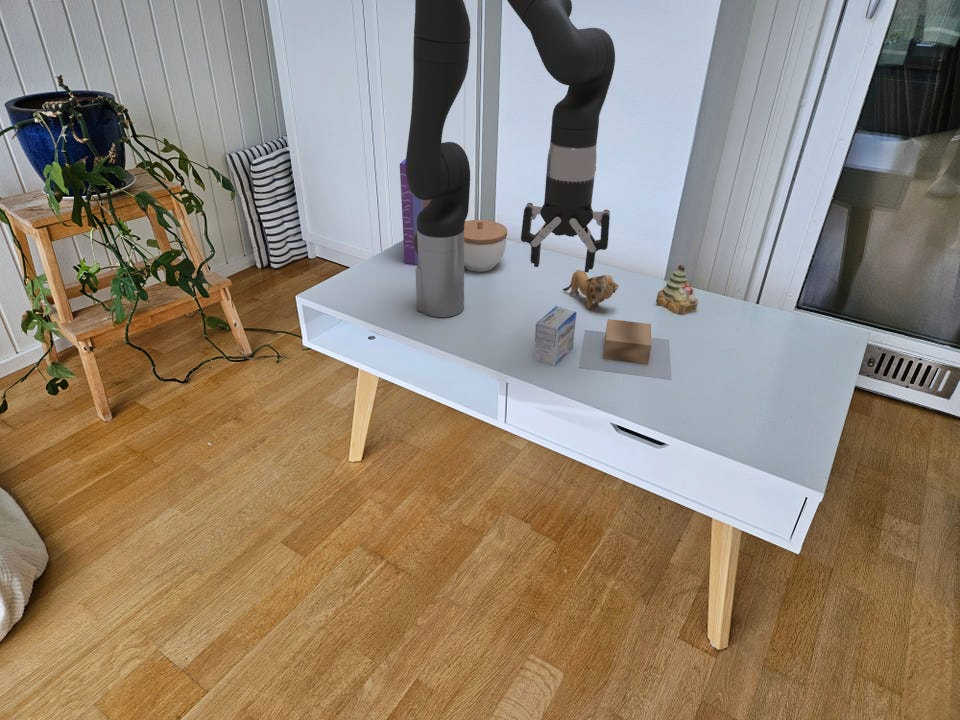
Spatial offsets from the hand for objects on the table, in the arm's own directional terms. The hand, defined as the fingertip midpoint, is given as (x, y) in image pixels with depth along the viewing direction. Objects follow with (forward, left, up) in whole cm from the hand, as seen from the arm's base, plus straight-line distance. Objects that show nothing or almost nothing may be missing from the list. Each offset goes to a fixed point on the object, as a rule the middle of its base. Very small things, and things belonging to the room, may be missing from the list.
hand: (561, 268), depth 108 cm
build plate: (+13, +3, -18) cm, 22 cm away
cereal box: (-37, +42, -18) cm, 59 cm away
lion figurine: (+5, +22, -18) cm, 29 cm away
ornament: (+23, +25, -18) cm, 38 cm away
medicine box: (0, 0, -18) cm, 18 cm away
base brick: (+13, +4, -17) cm, 22 cm away
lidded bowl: (-22, +37, -18) cm, 47 cm away
